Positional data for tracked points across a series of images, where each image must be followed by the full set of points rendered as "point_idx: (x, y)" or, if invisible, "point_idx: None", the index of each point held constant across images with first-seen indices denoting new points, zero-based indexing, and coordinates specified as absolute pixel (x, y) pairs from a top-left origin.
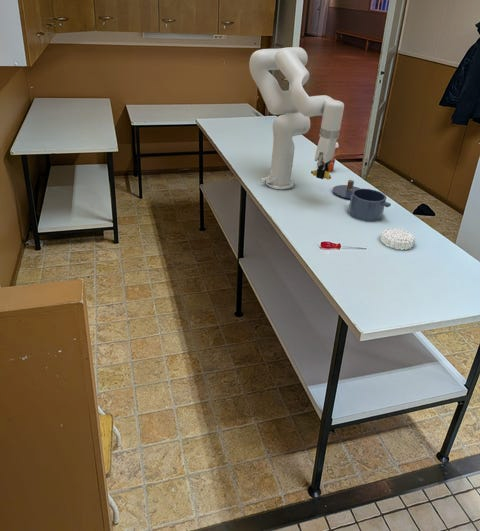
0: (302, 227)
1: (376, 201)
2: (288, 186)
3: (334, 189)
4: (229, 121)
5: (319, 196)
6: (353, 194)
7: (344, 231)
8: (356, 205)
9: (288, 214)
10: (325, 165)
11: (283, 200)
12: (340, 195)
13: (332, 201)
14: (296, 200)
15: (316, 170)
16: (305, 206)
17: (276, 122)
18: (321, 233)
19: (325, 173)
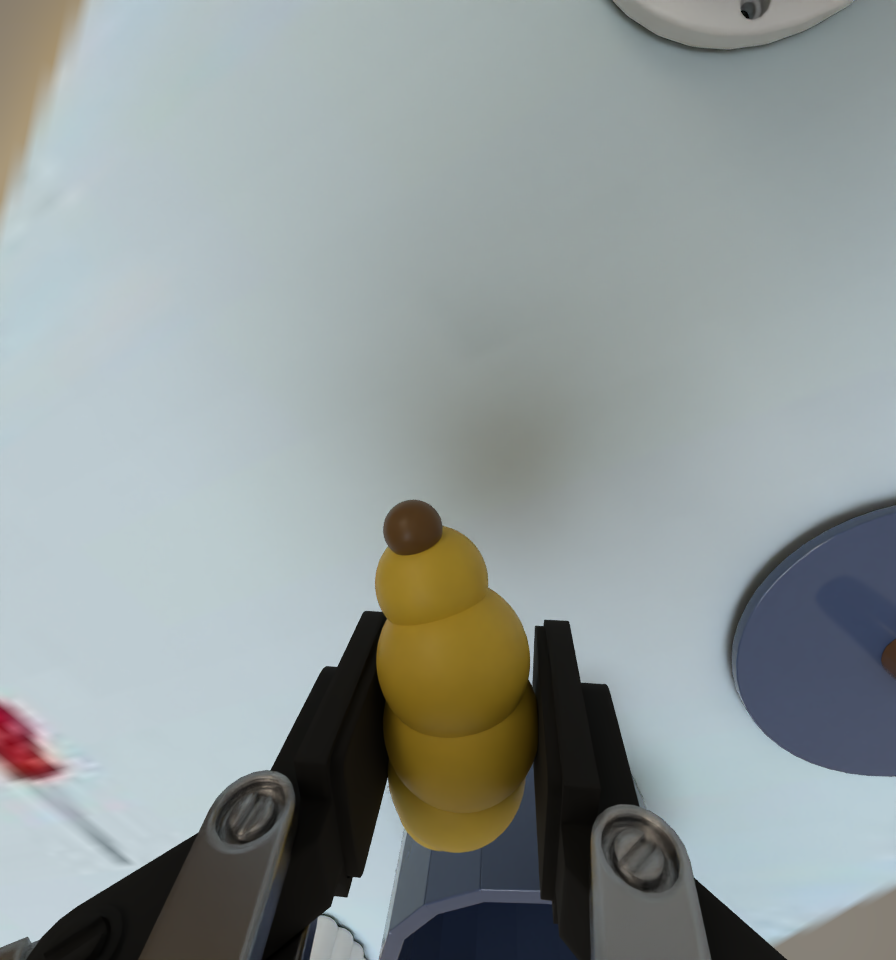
0: (34, 558)
1: None
2: (683, 6)
3: (889, 531)
4: None
5: (658, 446)
6: (442, 905)
7: (200, 759)
8: (401, 860)
9: (107, 389)
10: (558, 909)
11: (316, 188)
12: (747, 619)
13: (609, 578)
14: (411, 303)
15: (403, 652)
16: (347, 435)
17: None
18: (72, 671)
19: (398, 812)
